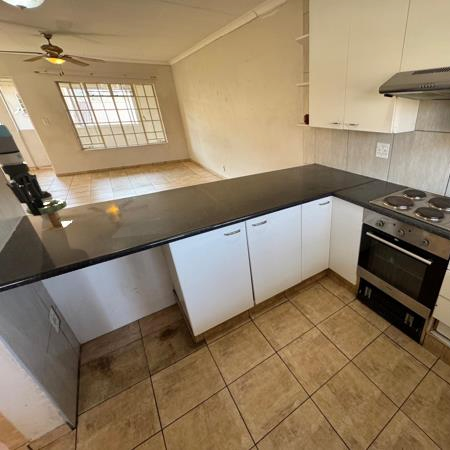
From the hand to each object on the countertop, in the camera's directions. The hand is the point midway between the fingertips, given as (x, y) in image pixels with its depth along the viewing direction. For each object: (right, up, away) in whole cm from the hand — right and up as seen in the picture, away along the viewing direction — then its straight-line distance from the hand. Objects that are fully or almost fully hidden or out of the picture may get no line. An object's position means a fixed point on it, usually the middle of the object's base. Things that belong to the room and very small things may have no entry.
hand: (40, 213), depth 114 cm
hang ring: (-1, +3, +4) cm, 6 cm away
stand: (-1, -7, +10) cm, 12 cm away
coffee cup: (-15, -2, +20) cm, 25 cm away
